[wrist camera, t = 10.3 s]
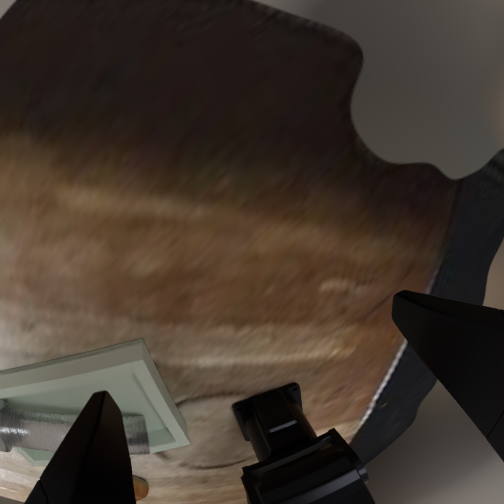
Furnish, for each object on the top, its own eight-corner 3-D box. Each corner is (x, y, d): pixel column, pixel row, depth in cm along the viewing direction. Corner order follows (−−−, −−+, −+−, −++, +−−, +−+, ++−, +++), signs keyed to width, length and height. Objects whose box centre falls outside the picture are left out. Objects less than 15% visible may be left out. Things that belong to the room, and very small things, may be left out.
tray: (186, 424, 26) (190, 444, 24) (36, 448, 22) (33, 466, 20) (142, 338, 22) (142, 359, 19) (-26, 375, 18) (-34, 393, 16)
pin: (153, 471, 20) (-4, 460, 14) (145, 443, 24) (8, 435, 18) (147, 424, 20) (-19, 410, 14) (141, 400, 25) (-2, 390, 19)
